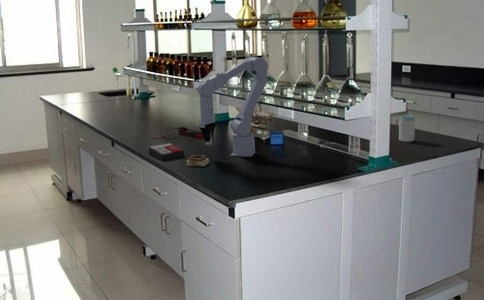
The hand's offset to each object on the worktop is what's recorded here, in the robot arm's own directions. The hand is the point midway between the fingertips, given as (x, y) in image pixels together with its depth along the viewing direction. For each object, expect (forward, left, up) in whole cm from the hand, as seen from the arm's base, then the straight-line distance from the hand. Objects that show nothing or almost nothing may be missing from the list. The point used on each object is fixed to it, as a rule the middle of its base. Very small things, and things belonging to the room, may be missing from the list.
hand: (208, 140), depth 245 cm
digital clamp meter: (+29, -38, -9) cm, 49 cm away
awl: (0, 0, -2) cm, 2 cm away
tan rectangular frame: (+2, +10, -8) cm, 13 cm away
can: (-83, -44, -8) cm, 94 cm away
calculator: (+22, -3, -9) cm, 24 cm away
